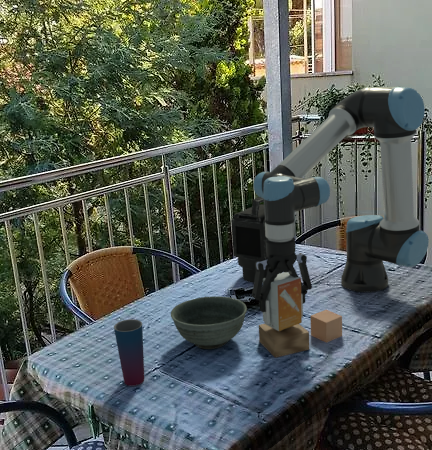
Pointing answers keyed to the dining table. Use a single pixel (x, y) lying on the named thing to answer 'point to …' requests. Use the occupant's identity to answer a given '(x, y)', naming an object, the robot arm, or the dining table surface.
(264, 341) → the walnut plinth
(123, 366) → the cup
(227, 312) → the bowl
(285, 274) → the small box
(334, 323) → the terracotta cube
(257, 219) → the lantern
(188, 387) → the dining table surface
